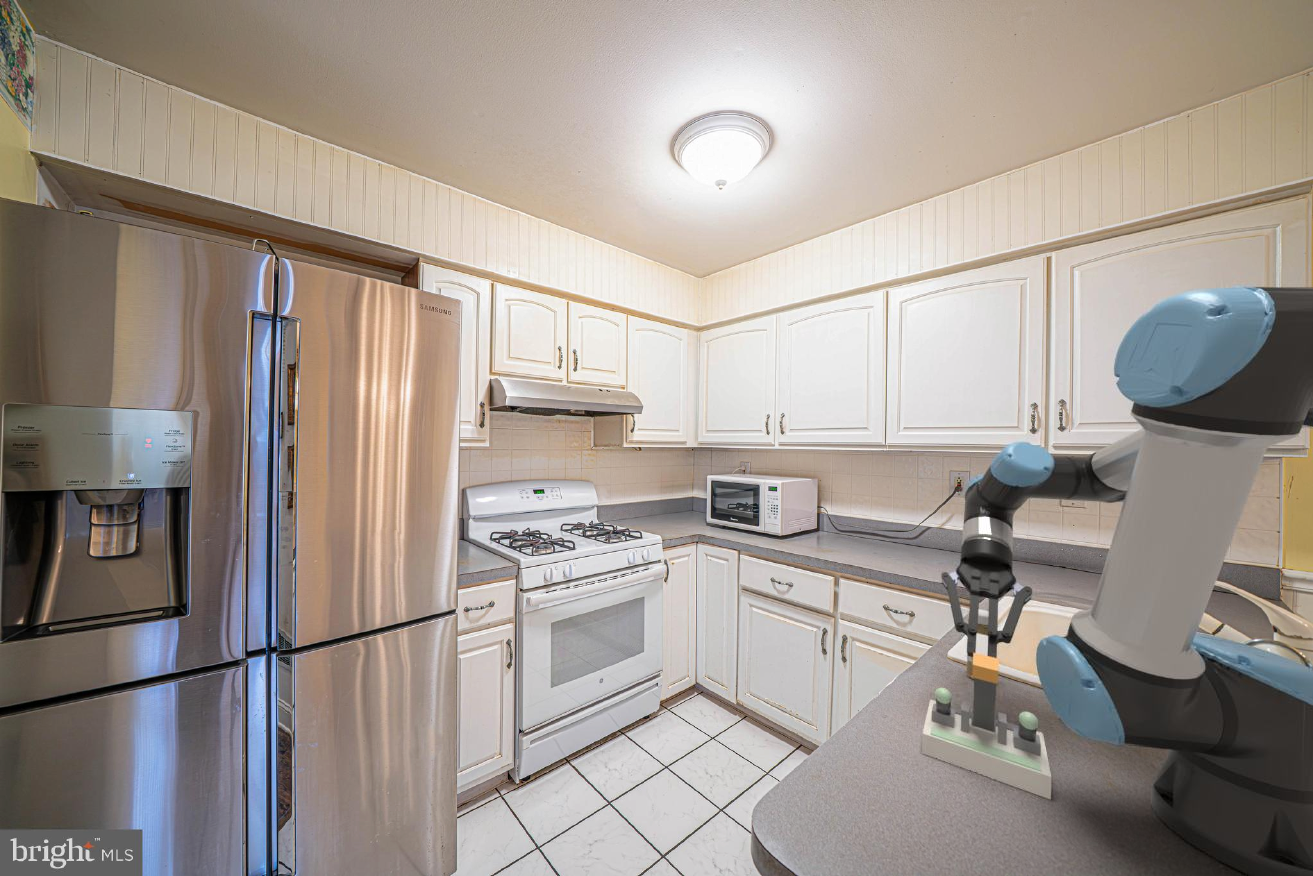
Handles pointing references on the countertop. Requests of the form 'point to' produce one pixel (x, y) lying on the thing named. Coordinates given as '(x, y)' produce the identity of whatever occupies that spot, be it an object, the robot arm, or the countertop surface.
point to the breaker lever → (984, 691)
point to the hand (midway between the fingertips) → (980, 678)
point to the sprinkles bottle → (980, 630)
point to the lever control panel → (988, 745)
